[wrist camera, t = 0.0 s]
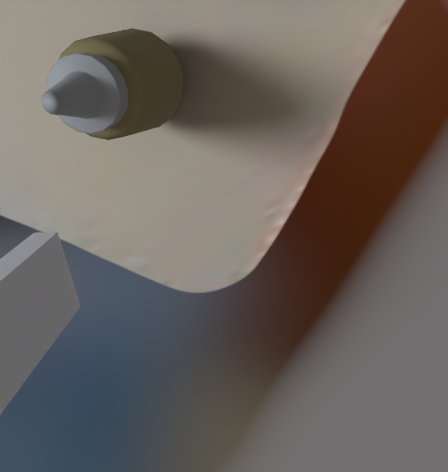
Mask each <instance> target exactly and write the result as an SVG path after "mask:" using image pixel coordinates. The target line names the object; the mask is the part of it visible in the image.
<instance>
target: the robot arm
mask: <svg viewBox="0 0 448 472" xmlns="http://www.w3.org/2000/svg"><path fill="white" fill-rule="evenodd" d="M79 307H80V304H79V301H78V297H77V294H76V291H75V288H74V285H73V281H72V278H71V275H70V272H69V268H68V265H67V262H66V259H65V256H64V252H63V249H62V246H61V243H60V239H59V236H58V233H57V232H51V233H33V234H32V235H31V236H30V237H28V238H27V239H26V240H24V241H23V242H22V243H21V244H20V245H18V246H17V247H15V248H14V249H13V250H12V251H10V252H9V253H8V254H7V255H5V256H4V257H3V258H1V259H0V414H1V413H2V411H3V410H4V409H5V407H6V406H7V405H8V403H9V402H10V400H11V399H12V398H13V396H14V395H15V394H16V392H17V391H18V390H19V388H20V387H21V386H22V384H23V383H24V382H25V380H26V379H27V378H28V376H29V375H30V374H31V372H32V371H33V369H34V368H35V366H36V365H37V364H38V363H39V361H40V360H41V359H42V357H43V356H44V355H45V353H46V352H47V351H48V349H49V348H50V347H51V345H52V344H53V342H54V341H55V340H56V338H57V337H58V336H59V334H60V333H61V332H62V330H63V329H64V328H65V326H66V325H67V323H68V322H69V321H70V319H71V318H72V317H73V315H74V314H75V313H76V311H77V310H78V309H79Z"/></svg>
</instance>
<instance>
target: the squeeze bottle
mask: <svg viewBox="0 0 448 472" xmlns="http://www.w3.org/2000/svg"><path fill="white" fill-rule="evenodd" d="M47 82H48V91H46V92H45V93H44V94H43V95H42V98H41V101H42V105H43V108H44V109H45V110H46V111H47V112H49V113H50V114H55V115H58V116H59V117H60V119H61V120H62V121H63V122H64V123H65V124H66V125H68V126H70V127H71V128H73V129H74V130H76V131H79V132H84V133H86V134H88V135H90V136H92V137H97V138H101V139H106V140H110V139H115V138H120V137H125V136H128V135H132V134H135V133H139V132H142V131H146V130H149V129H153V128H156V127H160V126H161V125H162V124H164V123H165V122H166V121H168V120H169V119H170V118H172V117H173V116H174V114H175V112H176V111H177V109H178V107H179V105H180V103H181V102H182V97H183V89H184V78H183V74H182V70H181V66H180V62H179V60H178V59H177V57H176V55H175V54H174V52H173V51H172V49H171V48H170V46H169V45H168V44H167V43H166V42H164V41H163V40H161V39H160V38H159V37H157V36H156V35H154V34H153V33H152V32H147V31H142V30H137V29H128V30H122V31H117V32H112V33H107V34H102V35H97V36H92V37H88V38H85V39H81V40H77V41H74V42H73V43H72V44H71V45H70V46H69V47H68V48H67V49H66V50H65V51H64V52H62V53H61V56H60V58H59V60H58V61H57V62H56V63H55V64H54V65H53V66H52V69H51V71H50V74H49V77H48V79H47Z"/></svg>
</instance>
